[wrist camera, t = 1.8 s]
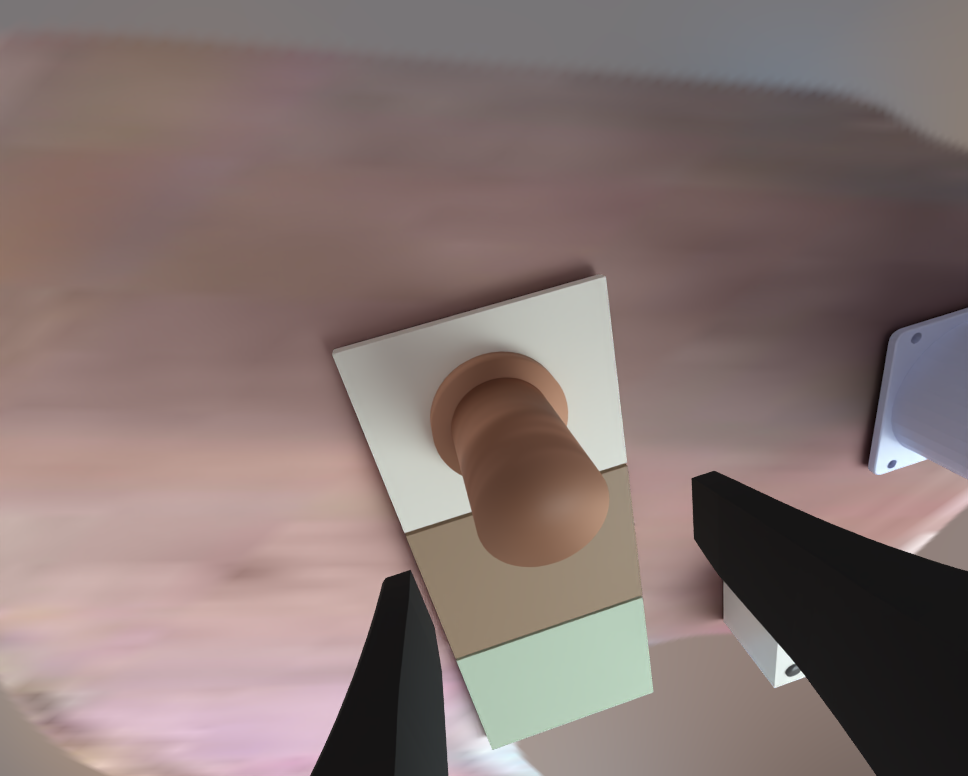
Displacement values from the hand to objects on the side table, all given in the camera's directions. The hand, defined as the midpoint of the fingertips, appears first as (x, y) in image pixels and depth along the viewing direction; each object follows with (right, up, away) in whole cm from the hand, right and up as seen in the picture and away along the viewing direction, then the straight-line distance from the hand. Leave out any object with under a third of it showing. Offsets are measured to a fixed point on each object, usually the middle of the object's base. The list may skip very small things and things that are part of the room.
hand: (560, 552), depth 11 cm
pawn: (-1, +3, +7) cm, 8 cm away
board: (0, -4, +11) cm, 12 cm away
